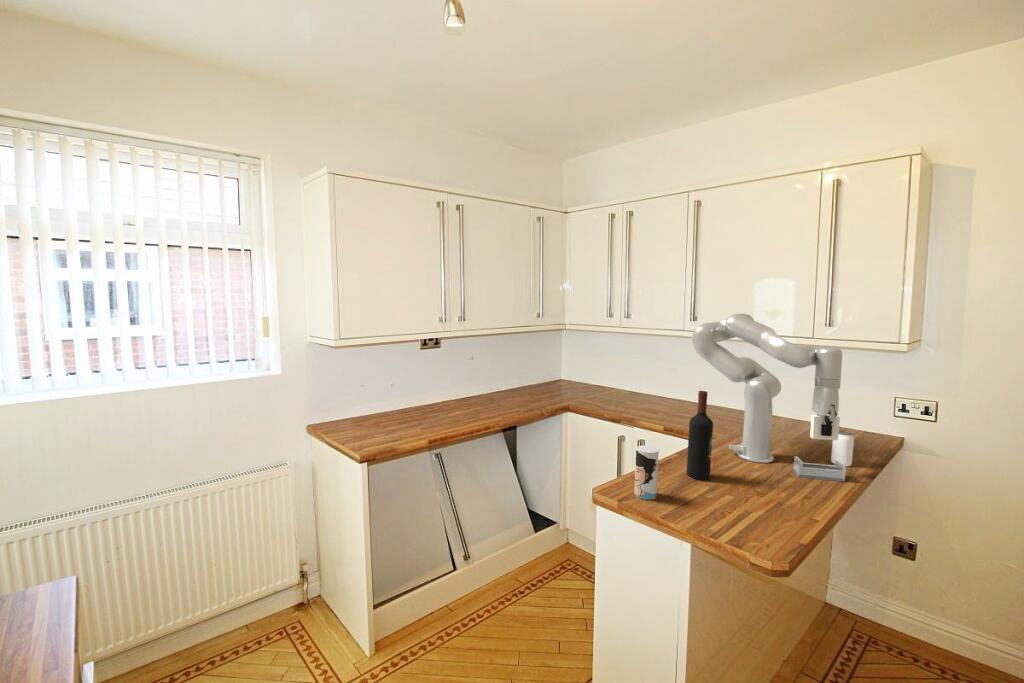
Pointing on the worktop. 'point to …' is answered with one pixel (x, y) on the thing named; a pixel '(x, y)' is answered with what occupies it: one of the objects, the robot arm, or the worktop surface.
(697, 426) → the wine bottle
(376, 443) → the worktop surface
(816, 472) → the track
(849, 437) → the can
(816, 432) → the plain white block
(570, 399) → the worktop surface
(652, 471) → the cup
